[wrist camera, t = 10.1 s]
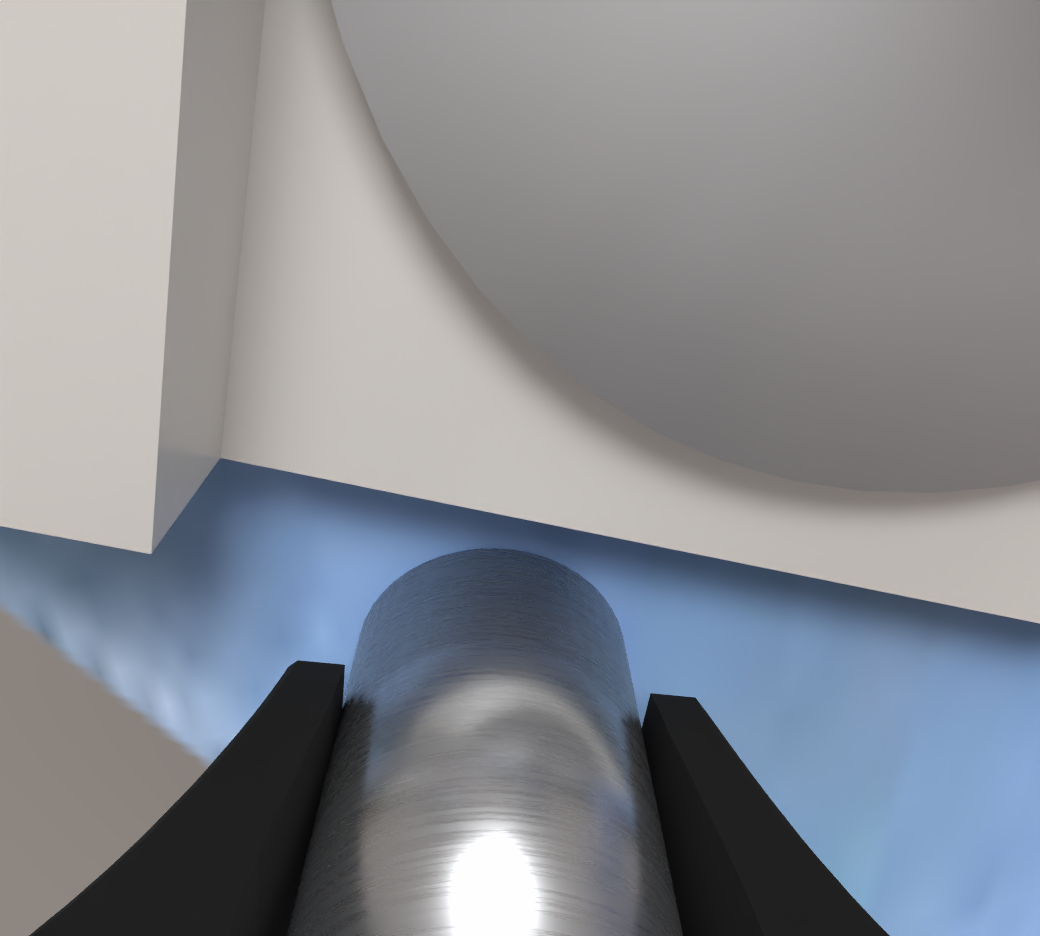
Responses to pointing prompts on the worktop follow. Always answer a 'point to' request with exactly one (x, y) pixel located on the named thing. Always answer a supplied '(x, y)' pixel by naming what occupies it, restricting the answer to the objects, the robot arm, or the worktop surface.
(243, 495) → the worktop surface
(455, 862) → the cylinder
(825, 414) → the scale
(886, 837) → the worktop surface
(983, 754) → the worktop surface
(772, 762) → the worktop surface
